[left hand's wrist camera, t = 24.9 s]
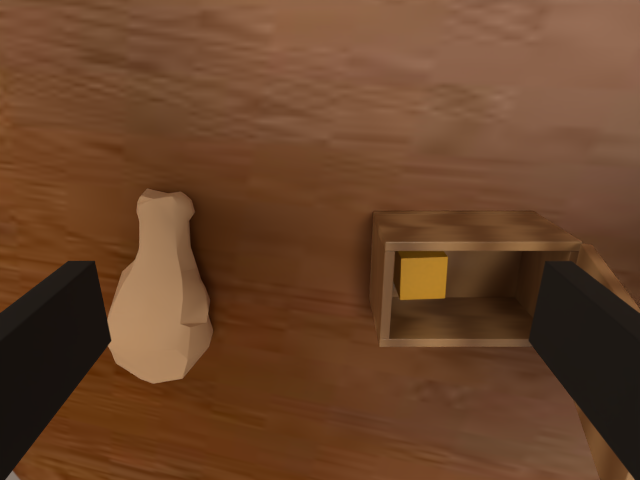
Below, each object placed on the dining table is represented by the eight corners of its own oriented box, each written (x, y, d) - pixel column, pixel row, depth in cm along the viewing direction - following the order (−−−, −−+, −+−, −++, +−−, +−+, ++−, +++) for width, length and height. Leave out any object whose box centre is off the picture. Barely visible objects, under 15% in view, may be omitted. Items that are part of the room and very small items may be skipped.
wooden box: (369, 300, 49) (379, 346, 41) (373, 210, 45) (385, 241, 37) (517, 300, 49) (558, 346, 41) (533, 210, 46) (583, 241, 37)
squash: (136, 348, 52) (85, 389, 43) (133, 180, 47) (75, 189, 38) (222, 362, 50) (187, 407, 41) (228, 190, 45) (189, 201, 37)
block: (392, 280, 47) (399, 300, 43) (393, 241, 46) (401, 258, 42) (434, 278, 47) (445, 298, 43) (436, 240, 46) (448, 256, 41)
